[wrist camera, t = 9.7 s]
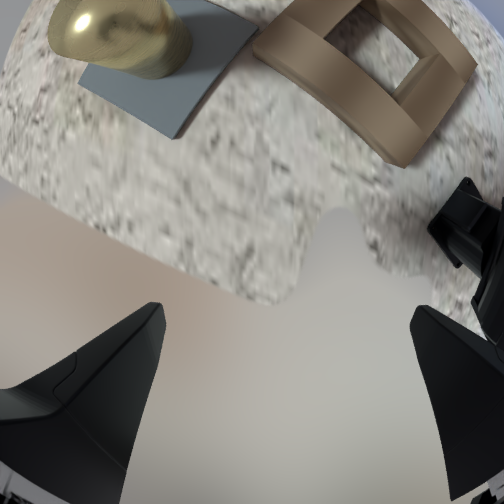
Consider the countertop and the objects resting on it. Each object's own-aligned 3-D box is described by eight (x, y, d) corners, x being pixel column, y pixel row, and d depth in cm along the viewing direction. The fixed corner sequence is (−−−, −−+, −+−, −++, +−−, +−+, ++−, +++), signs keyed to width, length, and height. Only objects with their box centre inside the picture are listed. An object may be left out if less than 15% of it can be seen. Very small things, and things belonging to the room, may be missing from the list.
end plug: (207, 34, 14) (169, -27, 5) (164, 91, 15) (94, 71, 7) (153, 11, 12) (92, -41, 4) (114, 65, 14) (32, 44, 6)
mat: (258, 29, 14) (258, 26, 13) (173, 139, 17) (171, 139, 17) (152, -16, 11) (150, -19, 11) (80, 84, 15) (77, 83, 15)
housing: (456, 67, 13) (477, 64, 10) (385, 162, 17) (404, 168, 15) (345, -32, 10) (356, -49, 8) (253, 55, 15) (252, 43, 12)
